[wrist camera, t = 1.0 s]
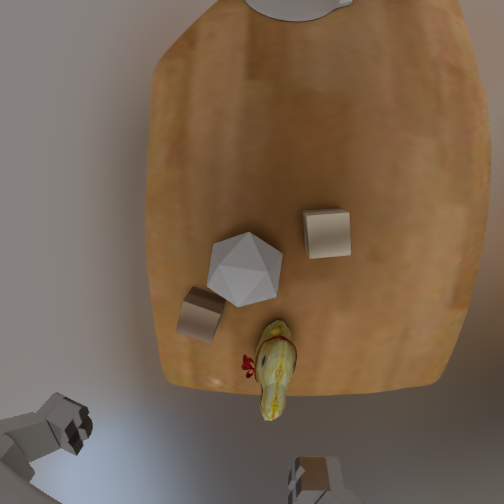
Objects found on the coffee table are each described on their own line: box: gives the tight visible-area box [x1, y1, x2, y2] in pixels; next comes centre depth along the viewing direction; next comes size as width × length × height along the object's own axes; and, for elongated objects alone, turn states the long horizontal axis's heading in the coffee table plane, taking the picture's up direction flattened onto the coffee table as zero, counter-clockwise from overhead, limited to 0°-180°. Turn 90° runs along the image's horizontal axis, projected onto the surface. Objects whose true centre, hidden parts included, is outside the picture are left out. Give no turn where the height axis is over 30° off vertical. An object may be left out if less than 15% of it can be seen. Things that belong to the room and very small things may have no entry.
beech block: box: [302, 208, 351, 259], centre depth 34 cm, size 5×5×5 cm
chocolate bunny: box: [242, 320, 297, 421], centre depth 34 cm, size 7×11×15 cm, turn 170°
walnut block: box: [176, 287, 226, 345], centre depth 38 cm, size 5×5×5 cm
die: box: [207, 232, 283, 307], centre depth 34 cm, size 8×9×10 cm
